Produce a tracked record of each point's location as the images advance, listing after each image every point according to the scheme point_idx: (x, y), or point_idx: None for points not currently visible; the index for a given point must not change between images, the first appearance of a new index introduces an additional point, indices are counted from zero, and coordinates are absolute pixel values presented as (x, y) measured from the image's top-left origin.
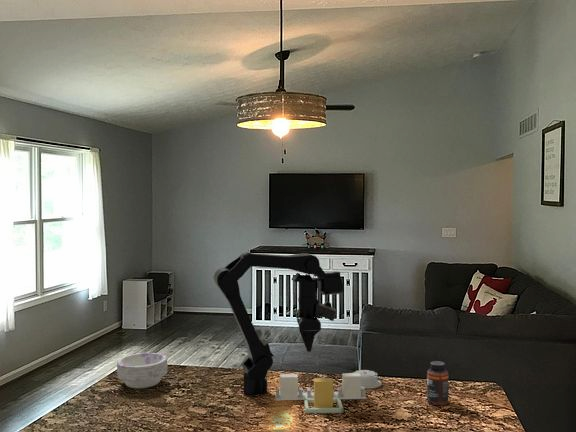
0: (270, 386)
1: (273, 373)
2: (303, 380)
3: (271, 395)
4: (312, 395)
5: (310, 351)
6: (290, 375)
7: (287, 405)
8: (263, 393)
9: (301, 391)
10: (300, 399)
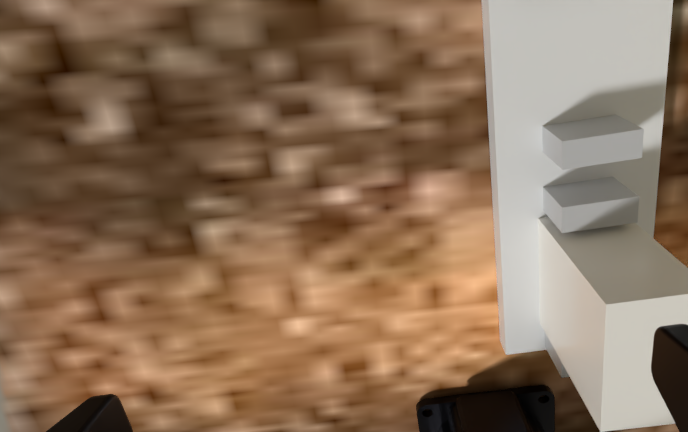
0: (316, 384)
1: (55, 398)
2: (143, 202)
3: (483, 359)
4: (569, 105)
5: (679, 328)
6: (650, 355)
7: (673, 253)
8: (525, 411)
9: (635, 201)
10: (653, 187)
